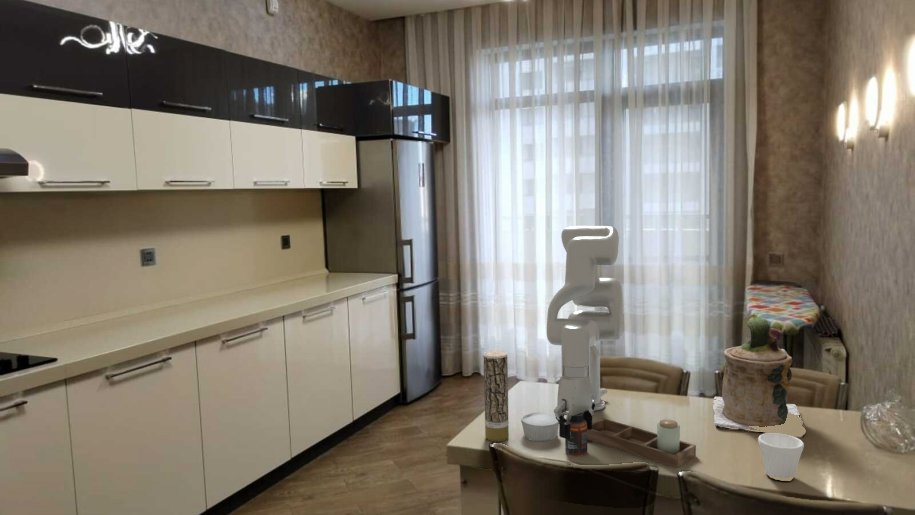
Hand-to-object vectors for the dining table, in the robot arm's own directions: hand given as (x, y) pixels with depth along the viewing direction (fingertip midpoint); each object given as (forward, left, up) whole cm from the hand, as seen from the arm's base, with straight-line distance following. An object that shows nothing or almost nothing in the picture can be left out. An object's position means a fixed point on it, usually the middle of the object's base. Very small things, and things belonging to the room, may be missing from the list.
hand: (576, 433), depth 172 cm
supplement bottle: (0, 0, -6) cm, 6 cm away
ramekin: (-3, -15, -6) cm, 17 cm away
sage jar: (-14, +19, -5) cm, 24 cm away
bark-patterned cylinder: (+7, -23, -6) cm, 25 cm away
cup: (-23, +44, -6) cm, 50 cm away
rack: (-14, +10, -6) cm, 18 cm away
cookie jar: (-58, +24, -6) cm, 63 cm away
